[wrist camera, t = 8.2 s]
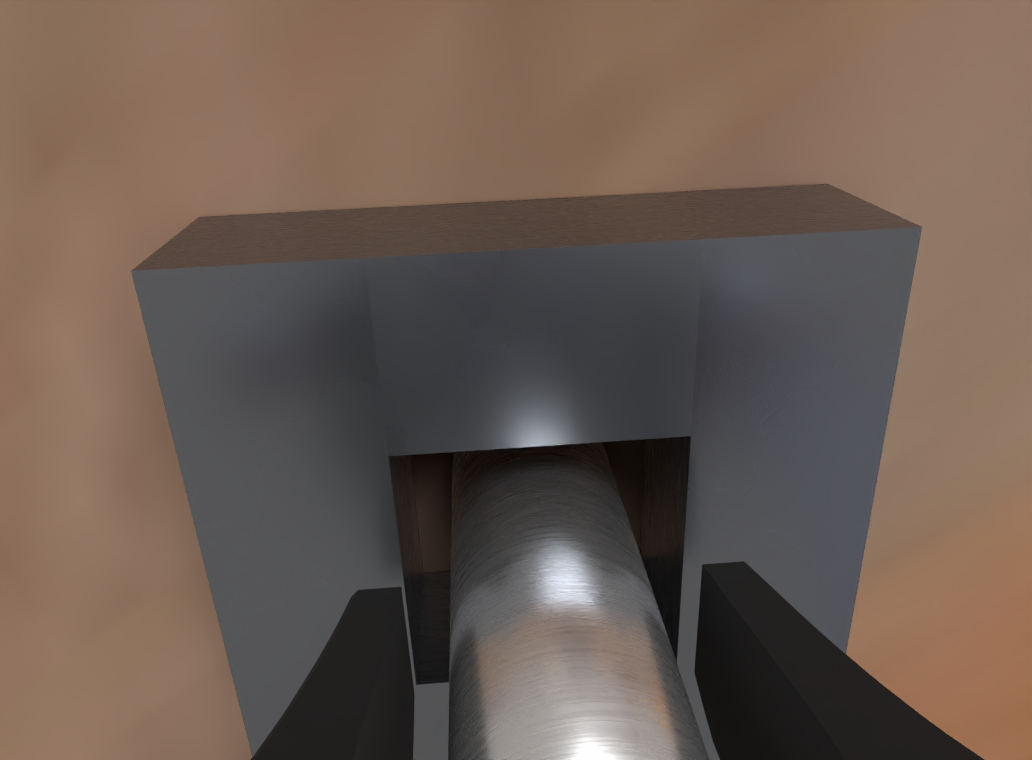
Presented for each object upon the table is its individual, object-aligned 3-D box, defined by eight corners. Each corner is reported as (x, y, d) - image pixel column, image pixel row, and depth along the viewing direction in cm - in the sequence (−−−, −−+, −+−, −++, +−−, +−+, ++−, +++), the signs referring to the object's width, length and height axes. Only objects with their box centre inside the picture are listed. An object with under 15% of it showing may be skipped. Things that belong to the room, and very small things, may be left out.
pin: (605, 527, 16) (793, 1184, 7) (457, 537, 16) (456, 1220, 7) (606, 394, 15) (838, 985, 6) (446, 404, 15) (427, 1024, 6)
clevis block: (769, 655, 18) (824, 770, 15) (297, 693, 17) (268, 818, 15) (828, 183, 13) (921, 227, 11) (199, 216, 13) (131, 270, 10)
